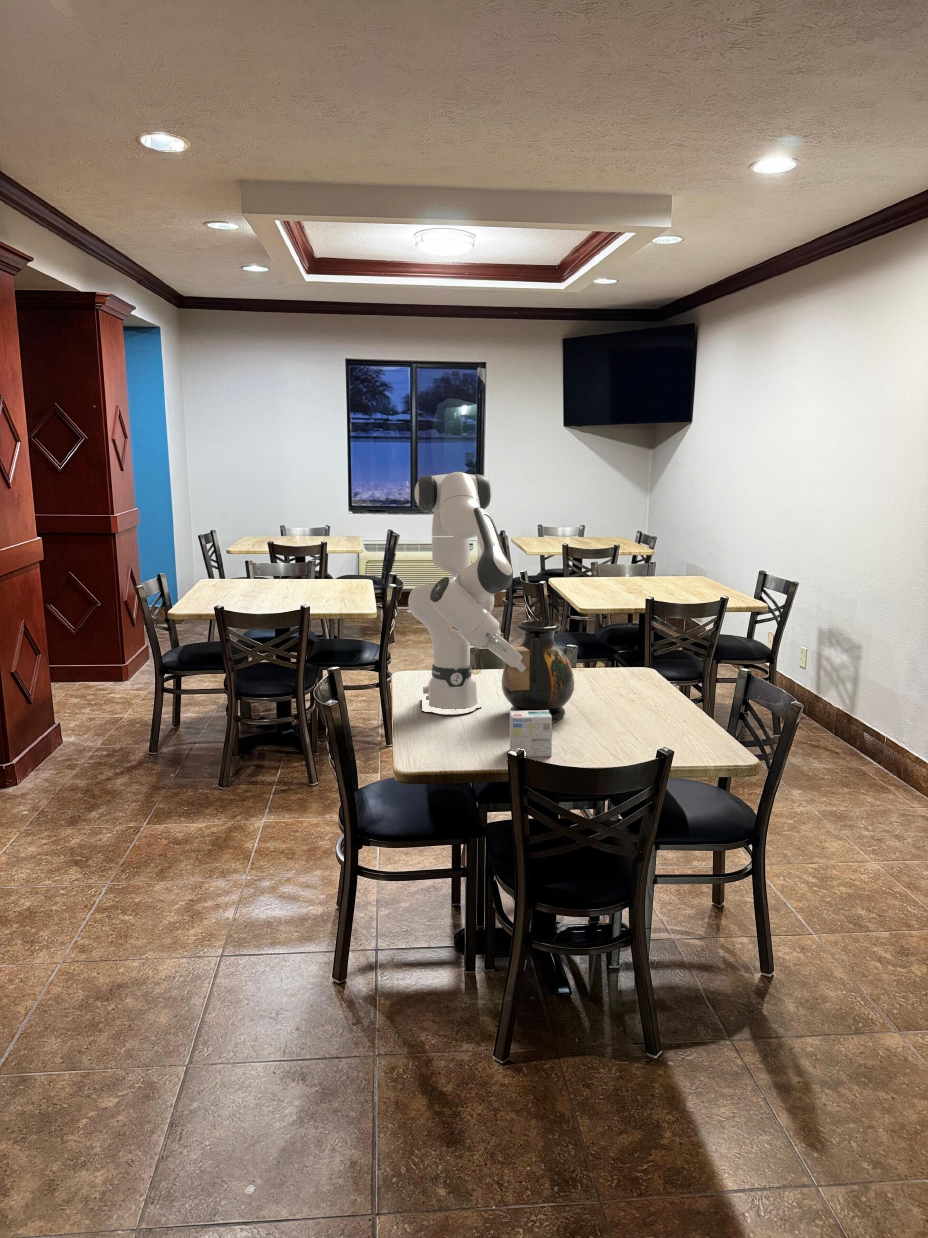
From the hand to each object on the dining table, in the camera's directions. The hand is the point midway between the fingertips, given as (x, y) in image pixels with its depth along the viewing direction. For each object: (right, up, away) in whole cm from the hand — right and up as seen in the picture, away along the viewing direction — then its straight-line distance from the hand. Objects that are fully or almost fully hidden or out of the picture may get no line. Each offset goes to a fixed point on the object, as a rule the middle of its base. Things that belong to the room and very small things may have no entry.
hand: (519, 666), depth 214 cm
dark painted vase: (+8, -17, +38) cm, 42 cm away
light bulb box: (+3, -23, +5) cm, 24 cm away
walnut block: (-1, -5, +1) cm, 5 cm away
